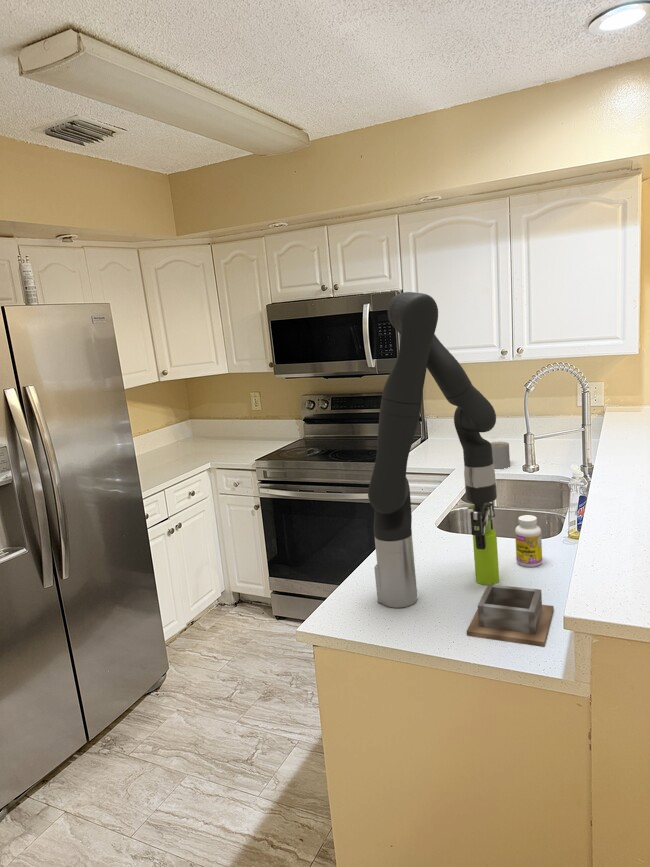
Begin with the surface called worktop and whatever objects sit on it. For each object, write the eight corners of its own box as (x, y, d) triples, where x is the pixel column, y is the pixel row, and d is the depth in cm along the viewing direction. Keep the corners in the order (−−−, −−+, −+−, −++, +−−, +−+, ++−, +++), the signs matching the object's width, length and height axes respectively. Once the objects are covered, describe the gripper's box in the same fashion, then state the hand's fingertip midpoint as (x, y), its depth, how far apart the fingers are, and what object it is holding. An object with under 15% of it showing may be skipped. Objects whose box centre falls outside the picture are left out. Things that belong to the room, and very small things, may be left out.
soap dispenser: (478, 573, 161) (473, 501, 157) (502, 577, 156) (498, 504, 152) (468, 581, 156) (463, 508, 153) (493, 586, 152) (488, 511, 148)
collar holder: (466, 635, 131) (465, 609, 130) (483, 601, 145) (481, 578, 144) (544, 646, 124) (543, 619, 122) (553, 610, 137) (552, 585, 136)
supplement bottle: (512, 565, 163) (510, 520, 160) (521, 556, 168) (519, 512, 166) (537, 569, 159) (535, 523, 156) (545, 560, 164) (544, 515, 161)
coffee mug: (510, 469, 255) (509, 446, 254) (486, 470, 258) (485, 447, 256) (508, 461, 268) (507, 439, 266) (485, 462, 271) (484, 440, 269)
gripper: (472, 473, 159) (477, 531, 162) (457, 489, 147) (463, 552, 149) (501, 473, 155) (506, 533, 158) (488, 490, 143) (493, 554, 146)
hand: (485, 542), depth 154 cm, fingers open, 8 cm apart
